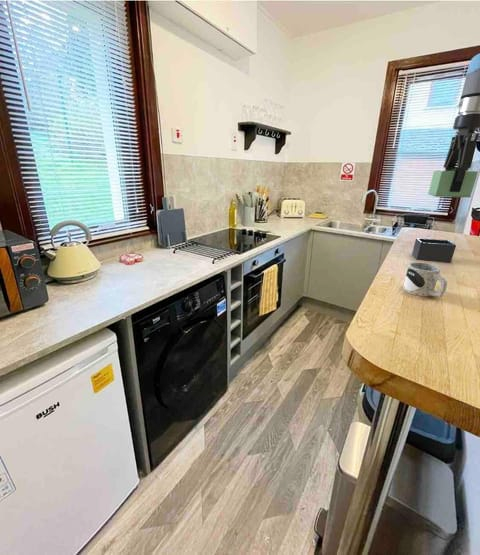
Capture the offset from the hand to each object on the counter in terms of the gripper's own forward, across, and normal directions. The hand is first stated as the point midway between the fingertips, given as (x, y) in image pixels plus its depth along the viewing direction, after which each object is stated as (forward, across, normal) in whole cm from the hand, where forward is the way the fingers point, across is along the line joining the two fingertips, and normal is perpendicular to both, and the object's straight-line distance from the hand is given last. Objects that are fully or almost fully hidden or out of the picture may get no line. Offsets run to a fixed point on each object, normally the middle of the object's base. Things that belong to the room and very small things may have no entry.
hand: (449, 190), depth 94 cm
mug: (+22, +42, -14) cm, 49 cm away
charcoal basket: (+22, +10, -4) cm, 24 cm away
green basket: (+2, 0, 0) cm, 2 cm away
